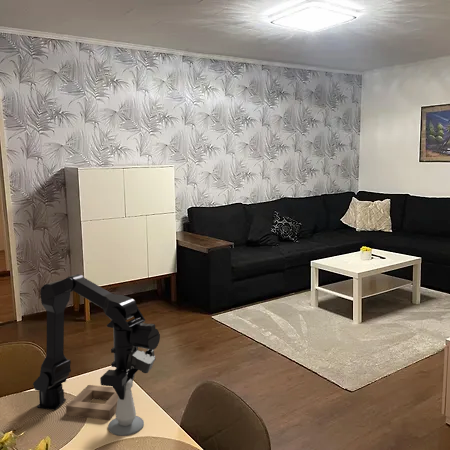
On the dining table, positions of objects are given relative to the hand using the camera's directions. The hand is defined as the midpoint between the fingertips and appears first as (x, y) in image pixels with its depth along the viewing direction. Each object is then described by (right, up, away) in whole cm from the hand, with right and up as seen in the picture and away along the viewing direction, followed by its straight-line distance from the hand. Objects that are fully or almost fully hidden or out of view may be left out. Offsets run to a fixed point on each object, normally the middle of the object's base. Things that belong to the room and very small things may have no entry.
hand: (125, 395), depth 133 cm
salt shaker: (0, -8, +1) cm, 8 cm away
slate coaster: (0, -9, +1) cm, 9 cm away
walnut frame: (-11, -8, +12) cm, 18 cm away
